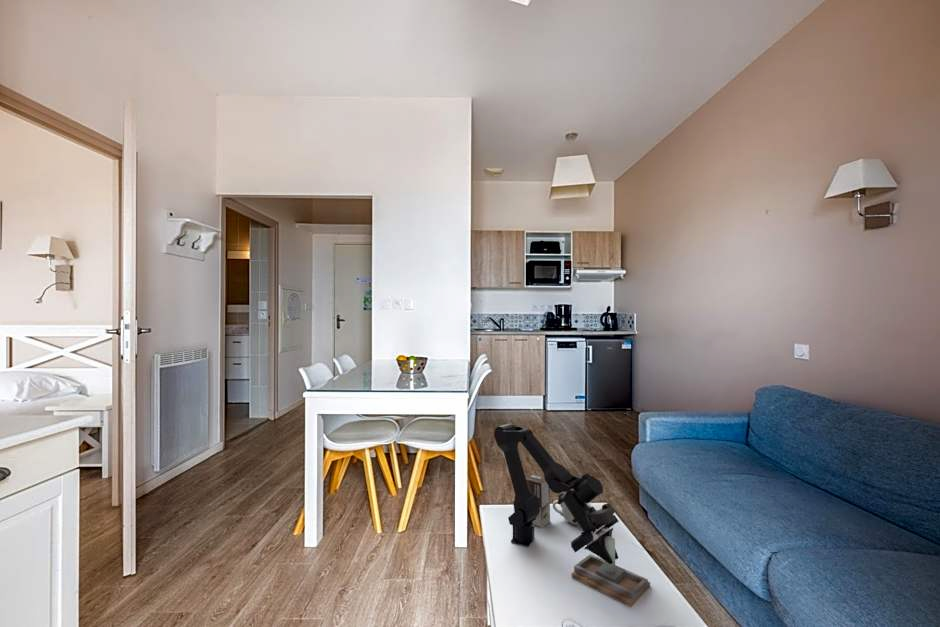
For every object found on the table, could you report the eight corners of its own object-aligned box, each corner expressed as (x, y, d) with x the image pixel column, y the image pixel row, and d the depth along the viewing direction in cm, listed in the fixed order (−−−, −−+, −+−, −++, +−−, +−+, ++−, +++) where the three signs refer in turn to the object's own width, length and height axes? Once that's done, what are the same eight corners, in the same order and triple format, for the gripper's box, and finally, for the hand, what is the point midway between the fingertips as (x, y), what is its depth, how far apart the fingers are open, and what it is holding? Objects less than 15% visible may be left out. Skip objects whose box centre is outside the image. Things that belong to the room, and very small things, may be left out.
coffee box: (551, 521, 159) (550, 478, 159) (542, 528, 155) (541, 483, 155) (529, 514, 165) (529, 472, 165) (520, 520, 160) (520, 477, 160)
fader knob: (595, 577, 124) (595, 539, 124) (605, 568, 128) (605, 531, 128) (614, 586, 119) (614, 547, 119) (625, 577, 123) (624, 538, 123)
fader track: (571, 577, 126) (571, 568, 126) (592, 560, 134) (592, 552, 134) (630, 607, 113) (630, 597, 113) (650, 586, 121) (650, 577, 121)
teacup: (590, 515, 164) (590, 494, 164) (591, 529, 153) (591, 507, 153) (553, 512, 167) (553, 491, 167) (552, 525, 156) (551, 503, 156)
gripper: (579, 507, 120) (617, 563, 112) (612, 487, 133) (648, 536, 125) (556, 525, 125) (590, 579, 118) (589, 505, 138) (622, 552, 131)
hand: (614, 561), depth 122 cm, fingers closed on fader knob, 3 cm apart
